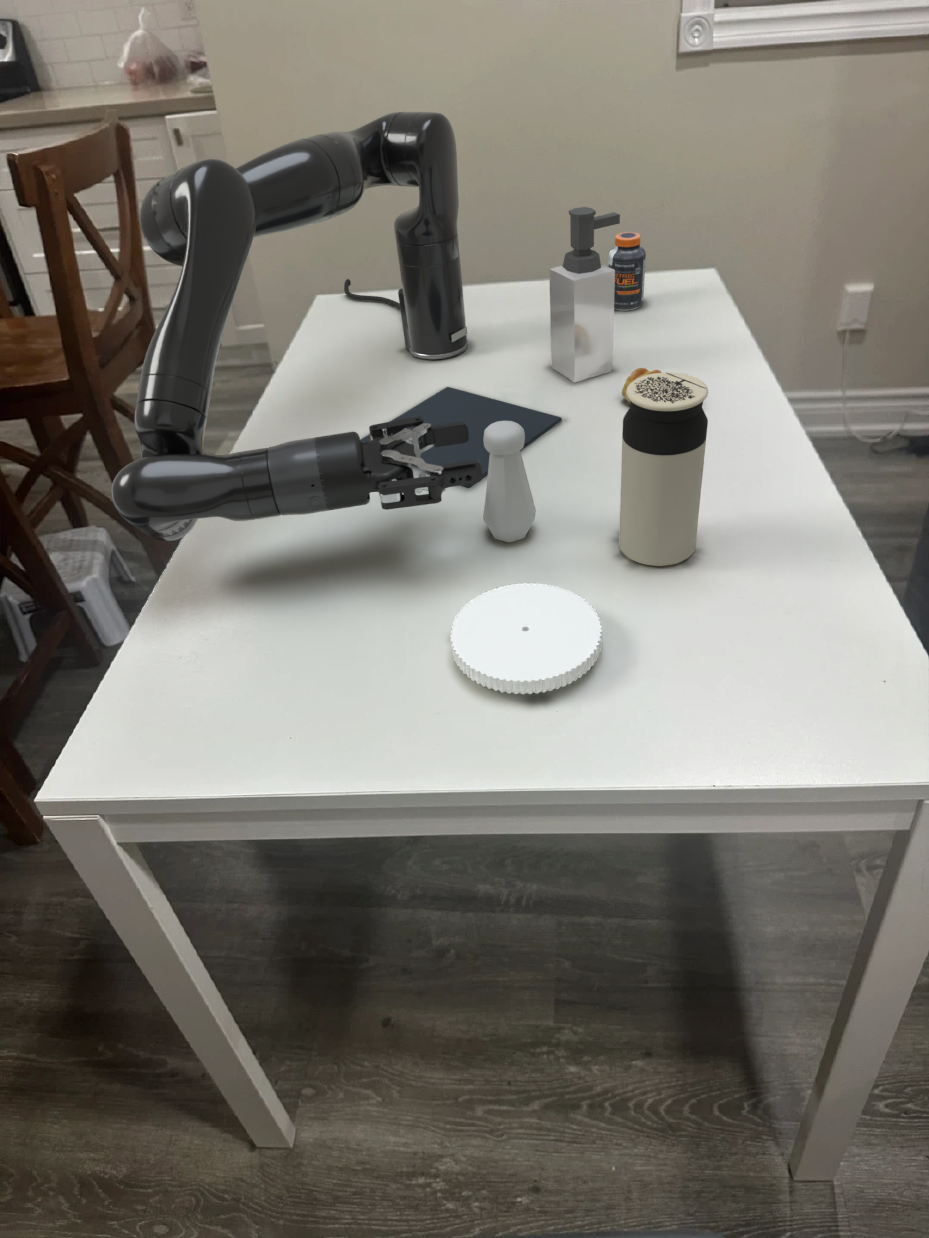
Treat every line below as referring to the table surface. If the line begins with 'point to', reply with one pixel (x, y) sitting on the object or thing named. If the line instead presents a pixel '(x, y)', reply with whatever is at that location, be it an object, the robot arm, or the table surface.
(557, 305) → the soap dispenser
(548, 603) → the plastic lid
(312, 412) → the table surface
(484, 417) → the mat
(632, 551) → the travel mug
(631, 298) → the pill bottle
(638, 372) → the pastry
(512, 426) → the salt shaker
